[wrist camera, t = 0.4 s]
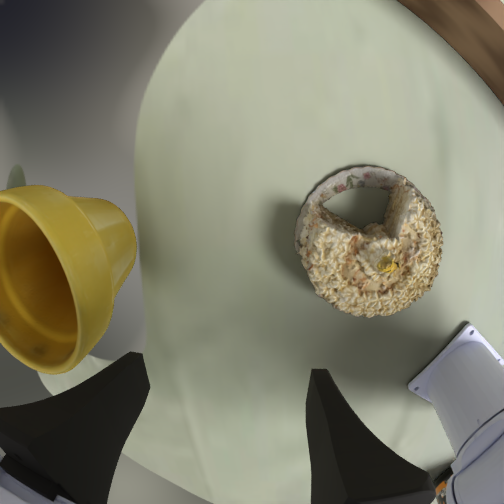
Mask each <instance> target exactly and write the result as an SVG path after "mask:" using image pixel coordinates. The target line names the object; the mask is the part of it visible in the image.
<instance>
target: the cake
mask: <svg viewBox="0 0 504 504" xmlns="http://www.w3.org/2000/svg"><path fill="white" fill-rule="evenodd" d="M365 186H366V187H378V188H381V189H384V190H387V191H389V192H390V195H389V196H388V197H389V203H388V206H387V208H386V212H385V214H384V215H383V217H384V218H385V219H384V222H383V223H382V225H378V224H377V223H376V222H375V223H374V224H373V223H370V224H369V225H367V226H365V227H364V228H363V229H359V228H357V227H356V226H354V225H352V224H350V223H348V222H347V221H346V220H344V219H342V218H339V217H338V215H335V214H333V213H331V212H330V211H329V210H328V209H327V208H324V207H323V205H322V204H323V203H324V202H325V201H327V200H329V199H330V198H331V197H332V196H334V195H335V194H338V193H340V192H342V191H344V190H348V189H351V188H357V187H365ZM296 224H297V225H296V228H295V231H294V233H295V234H294V235H295V242H294V246H295V249H296V251H298V253H296V254H297V255H298V254H300V255H301V256H302V259H301V262H302V265H304V268H305V270H307V275H308V276H309V279H310V281H311V283H312V284H313V286H314V288H315V289H316V290H315V292H316V293H317V294H316V295H318V296H319V297H322V298H324V299H325V300H326V301H327V302H328V303H331V304H332V305H333V308H337V309H338V310H340V311H344V312H345V313H350V314H352V315H353V316H357V317H358V316H361V315H363V316H364V317H368V318H370V317H373V316H374V315H376V316H377V315H381V316H389V315H394V313H396V312H397V311H401V309H406V308H408V307H409V306H410V305H411V302H413V300H415V302H416V301H417V300H418V297H419V298H421V297H422V296H423V295H424V292H425V291H430V290H431V288H430V287H432V284H433V280H434V278H435V277H436V276H437V275H438V271H437V270H438V268H439V265H438V263H439V262H440V261H441V254H442V249H441V248H440V247H441V246H442V245H443V241H442V240H443V237H442V232H441V230H440V228H439V226H440V223H439V221H438V220H436V214H435V210H434V208H433V207H432V206H431V203H430V202H429V201H428V200H427V198H426V197H424V196H423V195H422V194H421V192H420V191H419V190H418V189H417V188H416V187H415V186H414V184H412V183H411V182H410V181H408V180H407V179H406V177H404V176H402V175H398V174H396V172H394V171H393V170H386V169H384V168H382V167H372V166H364V167H354V168H351V169H349V170H343V171H341V172H339V173H338V174H337V175H335V176H331V177H330V178H328V179H327V180H326V181H325V182H324V183H322V184H321V185H319V186H318V187H317V188H316V190H315V191H314V192H313V193H311V194H310V196H309V197H308V199H307V202H306V203H305V204H304V205H303V207H302V209H301V214H300V216H299V217H298V218H297V223H296ZM298 239H299V240H300V246H299V243H298V242H297V240H298Z"/></svg>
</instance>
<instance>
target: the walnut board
mask: <svg viewBox="0 0 504 504" xmlns="http://www.w3.org/2000/svg"><path fill="white" fill-rule="evenodd" d="M398 1H399V2H400V3H402V4H403V5H404V6H406V7H407V8H408V9H409V10H411V11H412V12H413V13H415V14H416V15H417V16H418V17H419V18H421V19H422V20H423V21H424V22H426V23H427V24H428V25H429V26H430V27H431V28H432V29H434V30H435V31H436V32H437V33H438V34H439V35H440V36H441V37H442V38H444V39H445V40H446V41H447V42H448V43H449V44H450V45H451V46H452V47H453V48H454V49H455V50H456V51H457V52H458V53H459V54H460V55H461V56H462V57H463V58H464V59H465V60H466V61H467V62H468V63H469V64H470V66H471V67H472V68H473V69H474V70H475V71H476V72H477V73H478V74H479V76H480V77H481V78H482V79H483V80H484V81H485V82H486V84H487V85H488V86H489V87H490V88H491V90H492V91H493V92H494V93H495V95H496V96H497V97H498V99H499V100H500V101H501V102H502V104H503V105H504V4H503V3H502V2H501V1H500V0H398Z"/></svg>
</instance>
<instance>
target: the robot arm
mask: <svg viewBox="0 0 504 504" xmlns="http://www.w3.org/2000/svg"><path fill="white" fill-rule="evenodd" d="M503 364H504V360H503V359H502V358H501V356H500V355H499V354H498V353H497V352H496V351H495V349H494V348H493V347H492V346H491V345H490V344H489V343H488V342H487V340H486V339H485V338H484V337H483V336H482V335H481V334H480V333H479V332H478V331H477V329H476V328H475V327H474V326H473V325H472V324H471V323H468V324H467V325H465V327H464V328H463V329H462V330H461V331H460V332H459V333H458V334H457V336H456V337H455V338H454V339H453V340H452V341H451V342H450V343H449V344H448V345H447V346H446V348H445V349H444V350H443V351H442V352H441V353H440V354H439V355H438V356H437V357H436V358H435V359H434V360H433V361H432V362H431V363H430V364H429V365H428V366H427V367H426V368H425V369H424V370H423V371H422V372H421V373H420V374H418V375H417V376H416V377H415V378H414V379H413V380H412V381H411V382H410V383H409V384H408V388H409V390H410V391H412V392H414V393H415V394H417V395H419V396H420V397H422V398H424V399H426V400H427V401H429V402H431V403H432V404H433V406H434V408H435V410H436V412H437V415H438V417H439V419H440V421H441V423H442V425H443V428H444V430H445V432H446V434H447V437H448V439H449V441H450V443H451V446H452V448H453V450H454V453H455V455H456V458H457V459H456V460H455V461H454V462H453V463H452V464H451V468H452V470H453V473H454V474H453V475H452V476H451V477H450V479H449V480H448V483H447V487H446V502H447V504H504V368H503V366H502V365H503ZM149 390H150V384H149V380H148V376H147V372H146V367H145V363H144V359H143V354H142V353H136V352H129V353H127V354H126V355H124V356H123V357H121V358H120V359H118V360H117V361H115V362H114V363H112V364H111V365H109V366H108V367H106V368H105V369H103V370H102V371H100V372H99V373H97V374H96V375H94V376H92V377H91V378H89V379H87V380H86V381H84V382H82V383H80V384H79V385H77V386H75V387H73V388H71V389H69V390H67V391H65V392H62V393H60V394H58V395H55V396H52V397H50V398H46V399H44V400H41V401H37V402H34V403H29V404H25V405H20V406H12V407H4V408H0V447H1V448H2V449H3V451H4V452H5V453H6V455H5V456H4V458H3V457H2V456H1V455H0V504H107V500H108V495H109V491H110V487H111V483H112V479H113V475H114V472H115V469H116V466H117V462H118V460H119V456H120V454H121V451H122V448H123V446H124V444H125V442H126V440H127V438H128V436H129V434H130V432H131V430H132V428H133V426H134V424H135V422H136V420H137V418H138V416H139V415H140V413H141V411H142V409H143V407H144V404H145V402H146V399H147V396H148V393H149ZM306 429H307V437H308V445H309V453H310V462H311V504H430V503H431V502H432V501H433V500H434V499H435V497H436V490H435V487H434V484H433V481H432V479H431V477H430V475H429V473H428V472H426V471H424V470H422V469H420V468H418V467H417V466H415V465H413V464H411V463H409V462H408V461H406V460H405V459H403V458H402V457H400V456H399V455H397V454H396V453H395V452H394V451H392V450H391V449H390V448H389V447H387V446H386V445H385V444H384V443H382V442H381V441H380V440H379V439H378V438H377V437H376V436H375V435H374V434H373V433H372V432H371V431H370V430H369V429H368V428H367V427H366V426H365V425H364V423H363V422H362V421H361V420H360V419H359V417H358V416H357V415H356V414H355V412H354V411H353V410H352V408H351V407H350V406H349V404H348V403H347V401H346V400H345V398H344V397H343V395H342V394H341V392H340V391H339V389H338V387H337V386H336V384H335V382H334V381H333V379H332V377H331V375H330V373H329V371H328V370H327V369H312V370H311V376H310V382H309V387H308V393H307V399H306Z"/></svg>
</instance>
